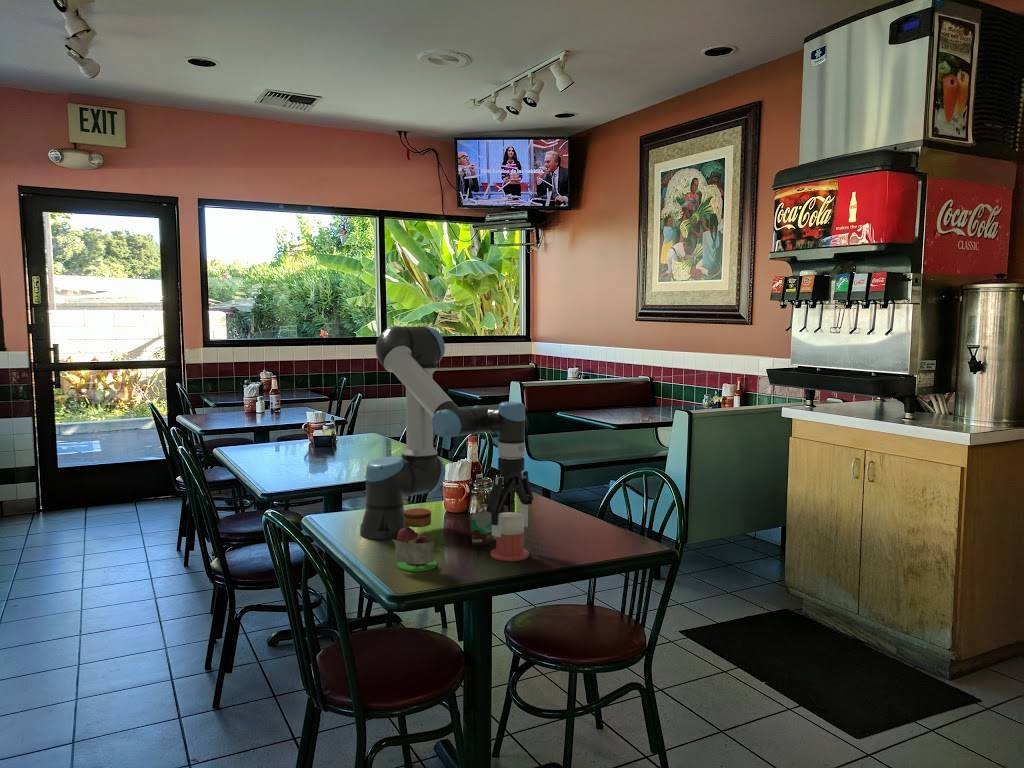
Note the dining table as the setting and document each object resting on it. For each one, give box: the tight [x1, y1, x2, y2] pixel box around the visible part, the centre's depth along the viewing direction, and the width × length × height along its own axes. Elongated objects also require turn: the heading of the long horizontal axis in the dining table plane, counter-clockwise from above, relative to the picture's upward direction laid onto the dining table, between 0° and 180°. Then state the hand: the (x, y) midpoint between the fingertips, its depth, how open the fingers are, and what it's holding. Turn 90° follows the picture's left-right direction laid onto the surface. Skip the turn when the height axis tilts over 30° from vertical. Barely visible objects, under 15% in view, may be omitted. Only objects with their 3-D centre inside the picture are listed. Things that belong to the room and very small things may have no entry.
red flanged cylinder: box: [490, 532, 530, 562], centre depth 214 cm, size 11×11×7 cm
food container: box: [470, 503, 494, 546], centre depth 228 cm, size 12×6×10 cm, turn 168°
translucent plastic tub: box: [391, 507, 438, 572], centre depth 203 cm, size 12×13×15 cm
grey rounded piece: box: [500, 511, 525, 535], centre depth 214 cm, size 8×8×7 cm
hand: (510, 531), depth 214 cm, fingers open, 12 cm apart
